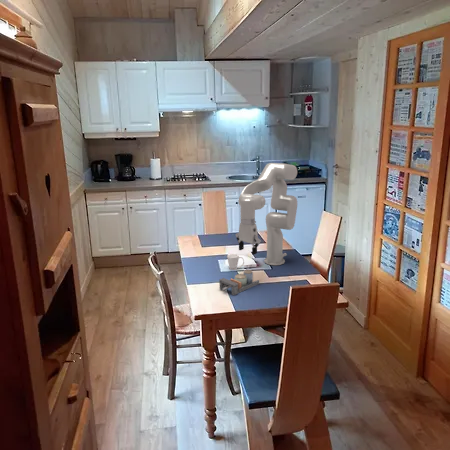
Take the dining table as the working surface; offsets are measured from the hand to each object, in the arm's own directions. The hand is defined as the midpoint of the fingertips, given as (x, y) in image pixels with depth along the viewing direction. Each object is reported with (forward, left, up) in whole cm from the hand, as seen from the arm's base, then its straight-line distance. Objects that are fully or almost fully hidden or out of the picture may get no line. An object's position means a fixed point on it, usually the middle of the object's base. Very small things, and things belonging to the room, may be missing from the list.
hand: (247, 251), depth 224 cm
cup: (-11, -20, -18) cm, 29 cm away
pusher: (+14, 0, -18) cm, 23 cm away
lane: (+6, 0, -18) cm, 19 cm away
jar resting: (+6, 0, -18) cm, 19 cm away
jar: (0, 0, -18) cm, 18 cm away
